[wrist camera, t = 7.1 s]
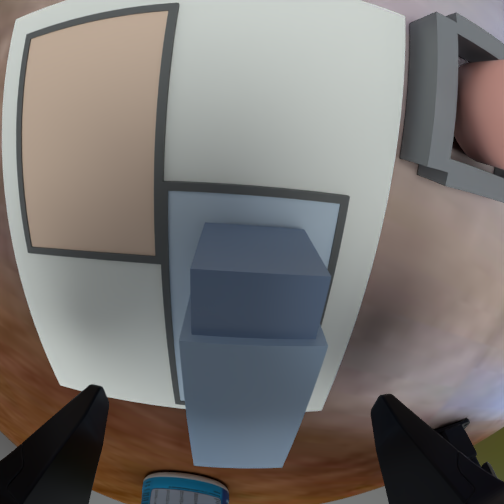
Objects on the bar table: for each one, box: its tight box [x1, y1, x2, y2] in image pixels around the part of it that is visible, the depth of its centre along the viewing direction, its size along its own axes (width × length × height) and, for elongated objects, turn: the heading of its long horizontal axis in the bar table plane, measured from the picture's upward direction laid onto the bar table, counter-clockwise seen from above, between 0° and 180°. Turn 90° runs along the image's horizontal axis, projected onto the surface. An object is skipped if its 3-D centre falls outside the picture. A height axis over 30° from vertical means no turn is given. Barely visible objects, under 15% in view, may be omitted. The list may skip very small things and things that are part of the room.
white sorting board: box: [2, 0, 405, 412], centre depth 11 cm, size 20×16×1 cm
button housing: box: [400, 12, 504, 203], centre depth 8 cm, size 7×7×2 cm
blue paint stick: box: [179, 222, 331, 468], centre depth 11 cm, size 10×4×4 cm, turn 175°
